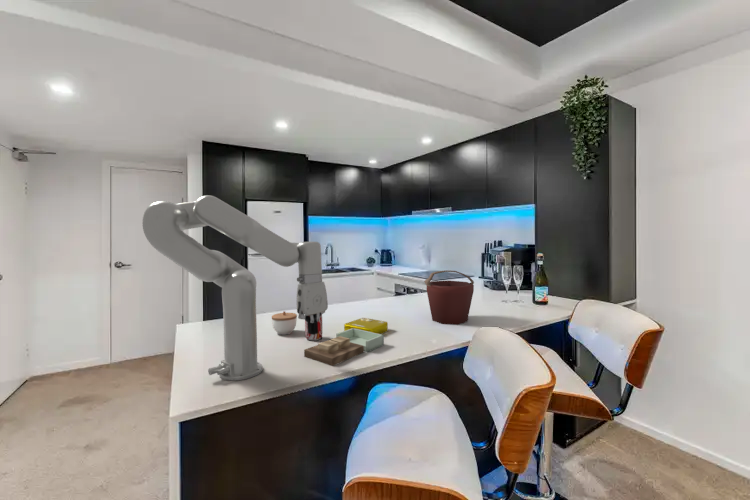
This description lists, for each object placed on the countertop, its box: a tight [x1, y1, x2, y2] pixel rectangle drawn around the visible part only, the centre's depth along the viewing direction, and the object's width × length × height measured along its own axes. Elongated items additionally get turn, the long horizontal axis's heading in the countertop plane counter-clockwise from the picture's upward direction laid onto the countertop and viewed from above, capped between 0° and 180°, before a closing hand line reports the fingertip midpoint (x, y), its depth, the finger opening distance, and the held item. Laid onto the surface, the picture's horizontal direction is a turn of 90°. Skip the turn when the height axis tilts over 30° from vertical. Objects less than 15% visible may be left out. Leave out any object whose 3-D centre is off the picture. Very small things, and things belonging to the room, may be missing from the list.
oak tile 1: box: [317, 339, 338, 353], centre depth 118 cm, size 5×5×2 cm
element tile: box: [343, 317, 389, 335], centre depth 149 cm, size 15×15×5 cm
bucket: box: [423, 269, 475, 326], centre depth 168 cm, size 24×22×25 cm
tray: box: [335, 328, 385, 353], centre depth 131 cm, size 10×16×4 cm, turn 52°
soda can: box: [304, 314, 323, 341], centre depth 139 cm, size 7×7×12 cm
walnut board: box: [303, 342, 365, 367], centre depth 120 cm, size 16×14×2 cm
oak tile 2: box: [330, 336, 350, 349], centre depth 122 cm, size 5×5×2 cm
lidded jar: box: [271, 311, 298, 336], centre depth 147 cm, size 11×11×9 cm
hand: (313, 333), depth 111 cm, fingers closed
